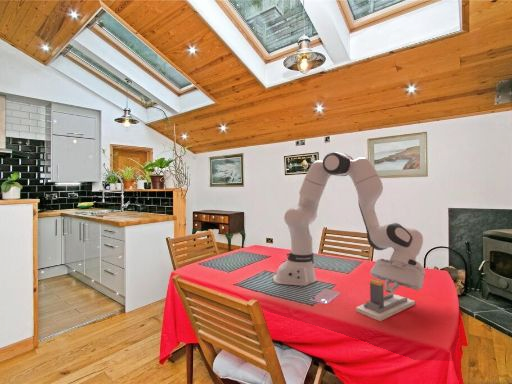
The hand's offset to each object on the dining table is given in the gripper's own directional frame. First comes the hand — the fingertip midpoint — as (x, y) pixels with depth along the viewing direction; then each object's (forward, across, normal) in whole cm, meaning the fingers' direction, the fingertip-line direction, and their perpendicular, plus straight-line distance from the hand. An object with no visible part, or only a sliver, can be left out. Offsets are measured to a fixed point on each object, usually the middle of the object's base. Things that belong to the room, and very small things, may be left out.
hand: (388, 291), depth 110 cm
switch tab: (+8, 0, -3) cm, 9 cm away
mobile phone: (+13, -22, -4) cm, 26 cm away
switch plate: (+6, 0, +3) cm, 6 cm away
